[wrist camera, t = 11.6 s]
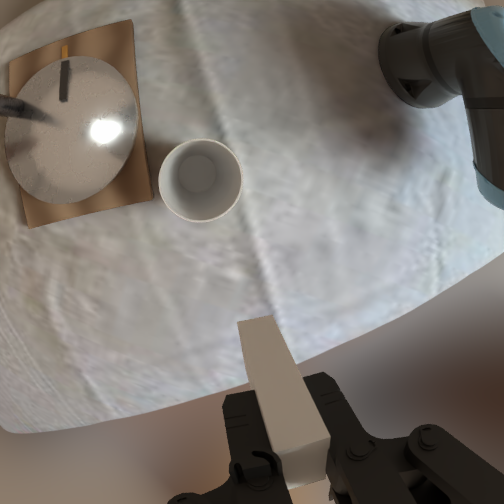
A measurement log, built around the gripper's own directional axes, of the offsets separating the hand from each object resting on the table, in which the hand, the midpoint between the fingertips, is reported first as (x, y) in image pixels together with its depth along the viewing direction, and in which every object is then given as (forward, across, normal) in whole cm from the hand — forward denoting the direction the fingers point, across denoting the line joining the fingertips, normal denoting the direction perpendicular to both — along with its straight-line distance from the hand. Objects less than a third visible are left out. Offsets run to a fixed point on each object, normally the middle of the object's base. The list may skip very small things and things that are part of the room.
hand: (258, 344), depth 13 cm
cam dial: (+26, -16, +14) cm, 34 cm away
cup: (+29, -1, +5) cm, 29 cm away
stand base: (+29, -16, +15) cm, 36 cm away
